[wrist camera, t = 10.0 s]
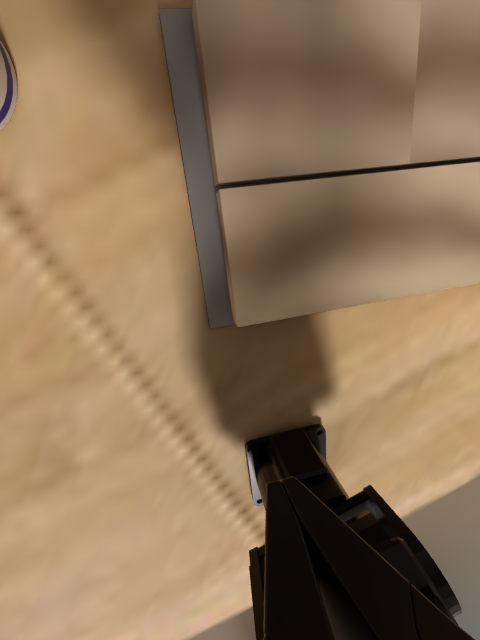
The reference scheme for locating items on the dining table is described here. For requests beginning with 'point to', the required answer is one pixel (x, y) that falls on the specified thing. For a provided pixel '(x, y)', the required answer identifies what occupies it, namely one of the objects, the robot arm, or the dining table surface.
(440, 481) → the dining table surface
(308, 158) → the fixed plank row
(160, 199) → the dining table surface
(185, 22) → the underlay mat
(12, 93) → the energy drink
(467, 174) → the loose plank
